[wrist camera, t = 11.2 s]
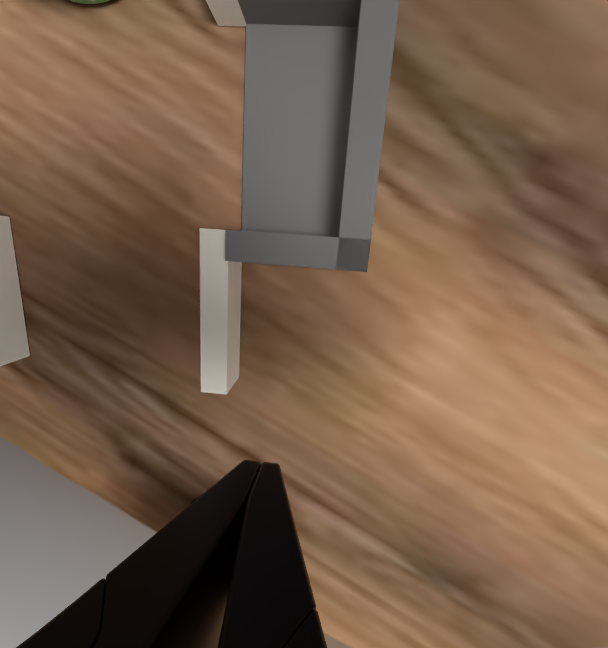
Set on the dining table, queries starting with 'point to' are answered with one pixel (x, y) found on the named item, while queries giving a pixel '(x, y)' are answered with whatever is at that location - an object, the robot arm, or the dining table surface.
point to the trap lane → (281, 162)
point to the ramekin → (89, 1)
